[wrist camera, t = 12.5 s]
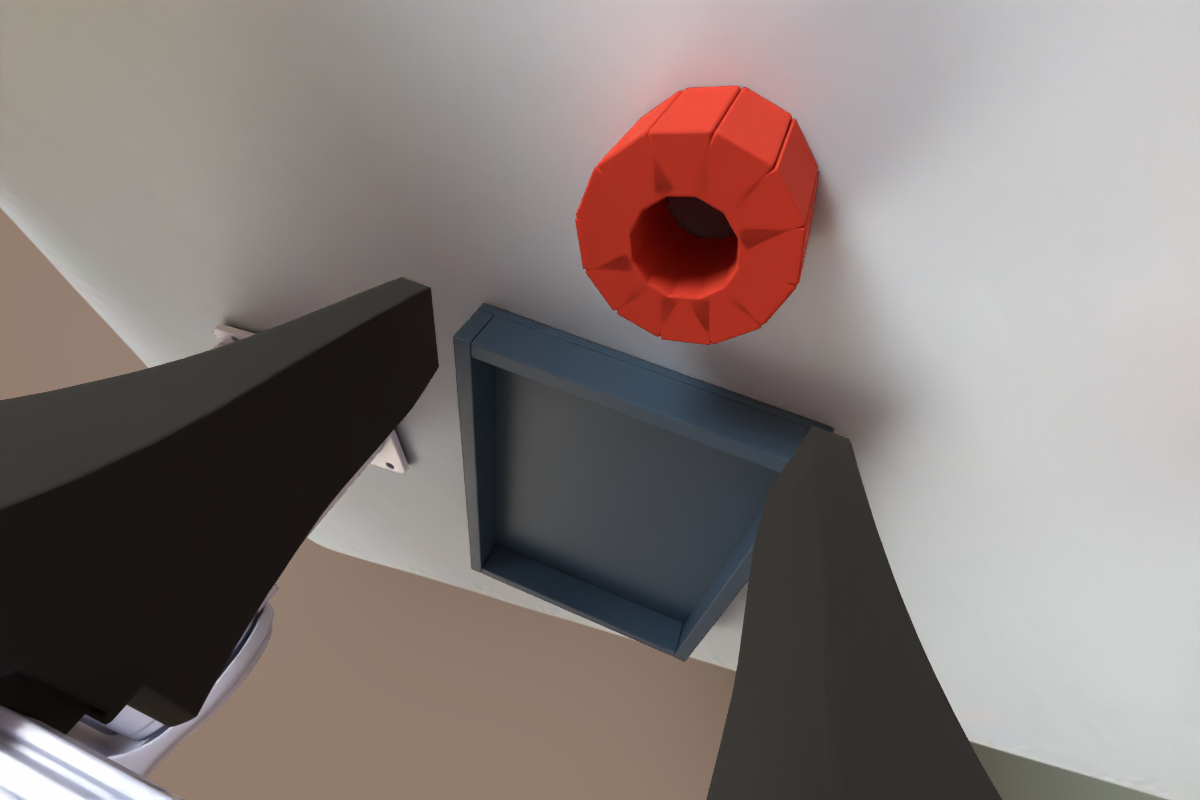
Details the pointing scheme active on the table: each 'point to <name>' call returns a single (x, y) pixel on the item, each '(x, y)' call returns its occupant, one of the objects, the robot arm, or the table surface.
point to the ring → (719, 178)
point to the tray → (611, 478)
